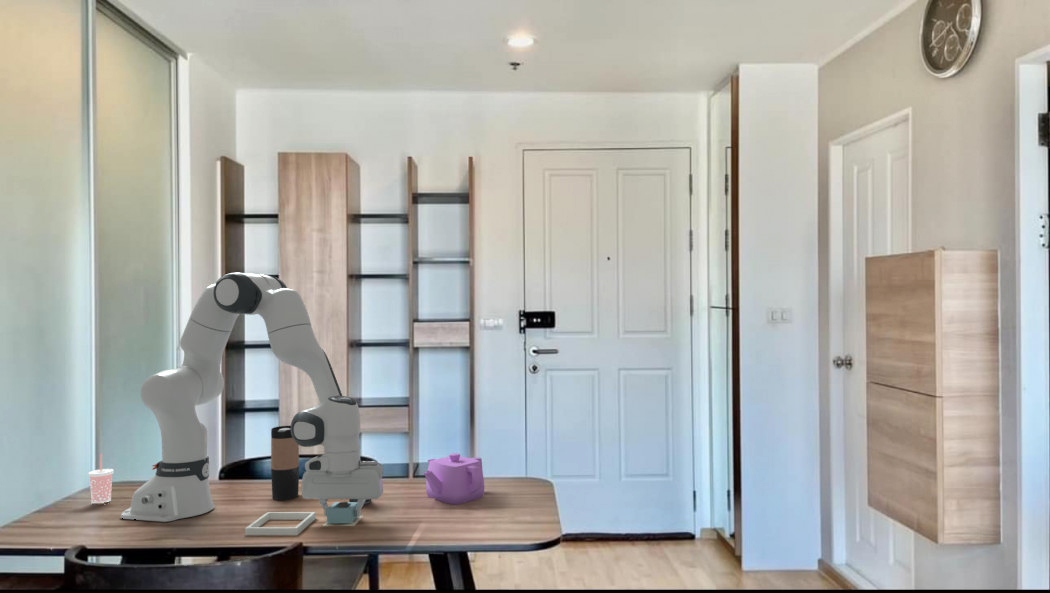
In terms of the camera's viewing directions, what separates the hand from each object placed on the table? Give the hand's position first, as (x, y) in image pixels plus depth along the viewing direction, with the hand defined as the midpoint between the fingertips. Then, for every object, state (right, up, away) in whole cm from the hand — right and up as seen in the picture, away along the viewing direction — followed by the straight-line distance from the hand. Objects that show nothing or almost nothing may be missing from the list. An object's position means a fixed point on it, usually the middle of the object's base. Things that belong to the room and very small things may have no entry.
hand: (342, 515), depth 171 cm
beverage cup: (-75, -4, +22) cm, 78 cm away
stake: (0, -2, 0) cm, 2 cm away
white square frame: (-14, -2, -4) cm, 15 cm away
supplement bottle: (+1, -3, +15) cm, 15 cm away
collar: (0, -1, 0) cm, 1 cm away
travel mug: (-24, -3, +26) cm, 35 cm away
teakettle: (+25, -3, +24) cm, 35 cm away
